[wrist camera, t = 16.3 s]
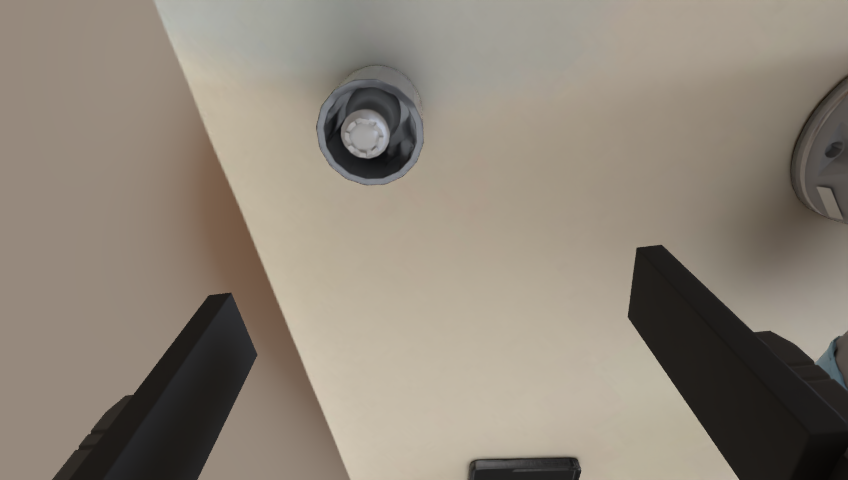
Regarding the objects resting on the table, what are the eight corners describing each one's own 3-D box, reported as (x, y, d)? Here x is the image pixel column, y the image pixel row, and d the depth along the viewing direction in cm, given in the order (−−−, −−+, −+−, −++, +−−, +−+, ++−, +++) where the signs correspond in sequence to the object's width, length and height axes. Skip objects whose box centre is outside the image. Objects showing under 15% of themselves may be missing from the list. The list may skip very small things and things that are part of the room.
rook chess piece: (364, 148, 36) (351, 182, 29) (336, 99, 34) (315, 122, 27) (410, 125, 35) (410, 153, 28) (384, 73, 33) (377, 90, 26)
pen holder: (373, 44, 32) (362, 54, 25) (438, 107, 35) (445, 132, 28) (319, 113, 35) (295, 138, 28) (384, 167, 37) (377, 204, 30)
